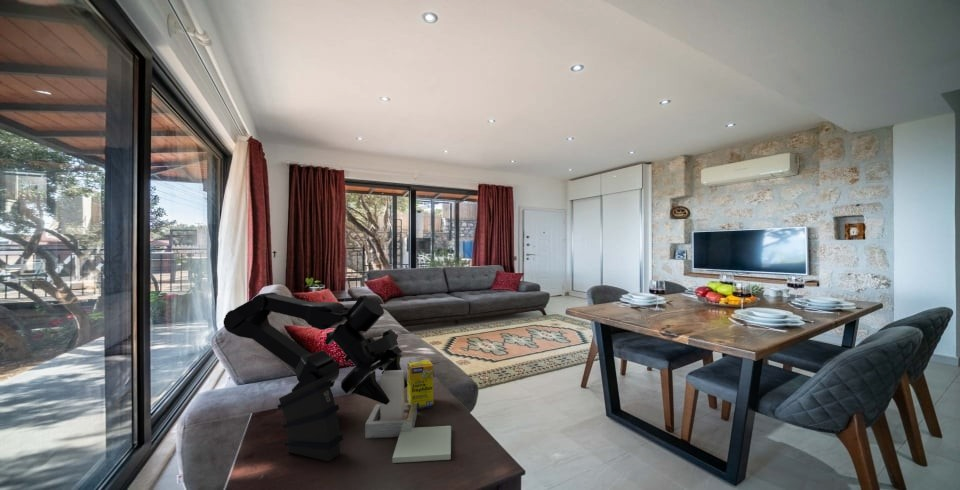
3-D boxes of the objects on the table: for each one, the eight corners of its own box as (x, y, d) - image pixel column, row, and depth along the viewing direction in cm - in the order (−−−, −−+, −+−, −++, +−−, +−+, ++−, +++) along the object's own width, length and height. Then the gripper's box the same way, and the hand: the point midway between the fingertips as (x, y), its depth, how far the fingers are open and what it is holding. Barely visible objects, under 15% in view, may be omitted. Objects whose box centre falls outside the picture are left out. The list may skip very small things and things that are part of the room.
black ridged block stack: (341, 457, 64) (314, 380, 66) (293, 476, 67) (269, 402, 70) (355, 446, 67) (329, 374, 70) (308, 464, 71) (285, 395, 73)
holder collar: (365, 438, 73) (365, 424, 73) (375, 416, 83) (375, 404, 83) (412, 435, 74) (411, 421, 74) (417, 414, 84) (416, 402, 84)
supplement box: (411, 411, 86) (410, 368, 86) (407, 402, 91) (406, 361, 91) (434, 407, 88) (433, 364, 88) (429, 398, 93) (428, 358, 94)
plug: (376, 433, 75) (376, 378, 76) (382, 420, 81) (382, 369, 82) (404, 431, 76) (403, 377, 76) (407, 419, 82) (407, 368, 82)
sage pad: (392, 463, 64) (392, 457, 64) (401, 432, 75) (401, 428, 75) (450, 459, 65) (450, 454, 65) (451, 430, 76) (451, 425, 76)
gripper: (353, 329, 71) (402, 386, 68) (394, 314, 89) (434, 358, 86) (320, 365, 73) (367, 422, 70) (367, 343, 91) (406, 388, 88)
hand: (397, 394), depth 78 cm, fingers open, 9 cm apart
